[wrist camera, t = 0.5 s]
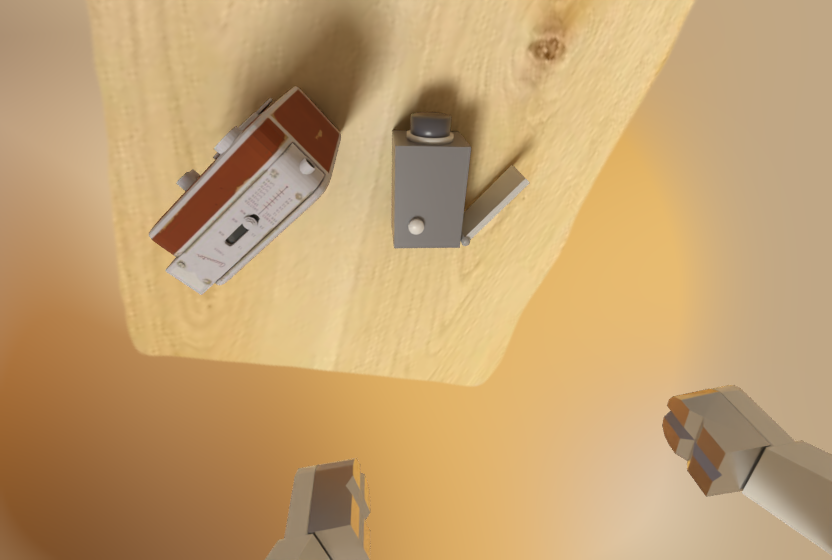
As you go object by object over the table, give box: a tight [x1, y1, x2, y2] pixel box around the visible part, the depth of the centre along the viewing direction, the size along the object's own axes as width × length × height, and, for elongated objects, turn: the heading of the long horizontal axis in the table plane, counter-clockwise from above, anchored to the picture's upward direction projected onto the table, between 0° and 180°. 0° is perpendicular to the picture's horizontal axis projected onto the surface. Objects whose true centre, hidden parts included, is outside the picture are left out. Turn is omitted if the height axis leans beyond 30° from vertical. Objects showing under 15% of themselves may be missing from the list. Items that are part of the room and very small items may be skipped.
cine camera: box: [149, 86, 341, 295], centre depth 39 cm, size 9×19×20 cm, turn 129°
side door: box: [461, 165, 529, 246], centre depth 49 cm, size 10×1×6 cm, turn 137°
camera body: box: [392, 112, 471, 248], centre depth 46 cm, size 14×8×8 cm, turn 177°
